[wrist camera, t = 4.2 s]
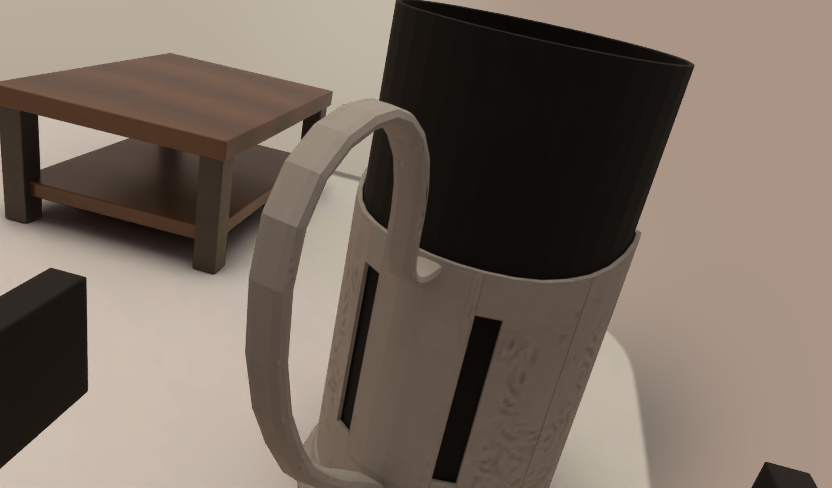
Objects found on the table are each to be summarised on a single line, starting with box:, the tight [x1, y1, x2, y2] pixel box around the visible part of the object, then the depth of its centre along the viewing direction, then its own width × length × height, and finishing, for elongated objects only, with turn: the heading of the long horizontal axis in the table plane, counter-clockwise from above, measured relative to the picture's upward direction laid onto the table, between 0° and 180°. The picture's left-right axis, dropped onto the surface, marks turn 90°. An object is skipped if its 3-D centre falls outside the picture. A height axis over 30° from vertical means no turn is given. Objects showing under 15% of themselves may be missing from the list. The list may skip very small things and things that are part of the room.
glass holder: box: [245, 0, 694, 488], centre depth 17 cm, size 9×14×15 cm, turn 151°
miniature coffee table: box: [0, 53, 332, 274], centre depth 38 cm, size 16×12×7 cm
